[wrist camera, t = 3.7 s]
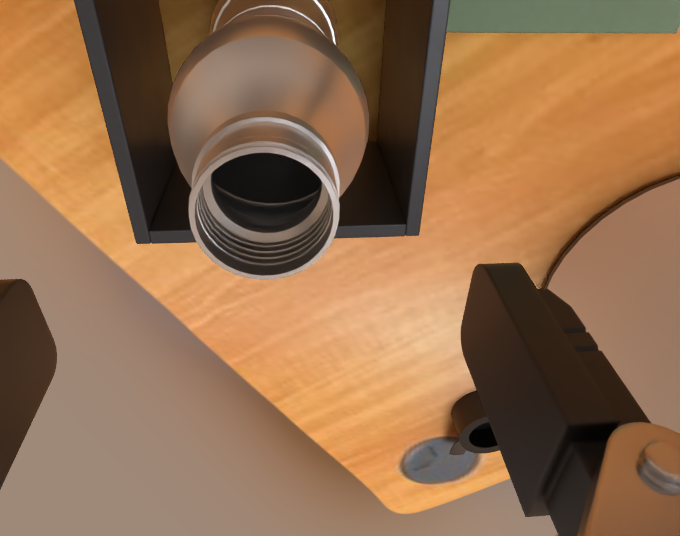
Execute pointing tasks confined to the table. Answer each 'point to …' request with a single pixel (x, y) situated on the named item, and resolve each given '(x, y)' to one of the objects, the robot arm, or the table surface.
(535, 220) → the table surface
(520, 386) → the robot arm
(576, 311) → the humidifier
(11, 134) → the table surface
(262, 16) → the plastic bottle
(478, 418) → the black tabbed ring
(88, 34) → the tote
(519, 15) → the mat
